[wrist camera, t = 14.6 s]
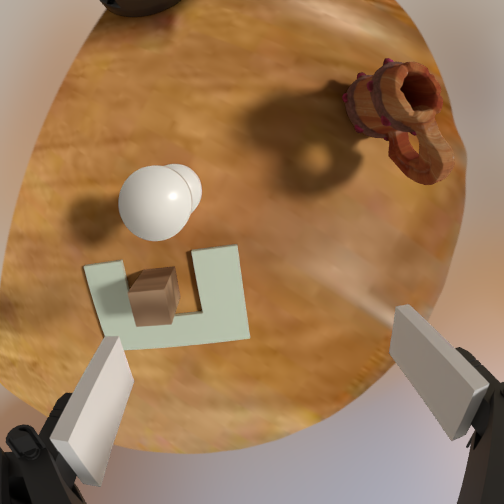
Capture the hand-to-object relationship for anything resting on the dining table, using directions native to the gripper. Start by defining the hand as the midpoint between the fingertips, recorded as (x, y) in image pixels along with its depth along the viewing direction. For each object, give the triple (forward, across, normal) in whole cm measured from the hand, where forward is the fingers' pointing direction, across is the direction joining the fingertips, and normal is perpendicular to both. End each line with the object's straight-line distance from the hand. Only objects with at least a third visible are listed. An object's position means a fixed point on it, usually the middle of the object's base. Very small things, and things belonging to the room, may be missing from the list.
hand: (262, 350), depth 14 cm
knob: (+29, -8, +5) cm, 30 cm away
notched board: (+28, -11, -10) cm, 32 cm away
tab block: (+29, -12, -8) cm, 32 cm away
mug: (+29, +19, +12) cm, 37 cm away
